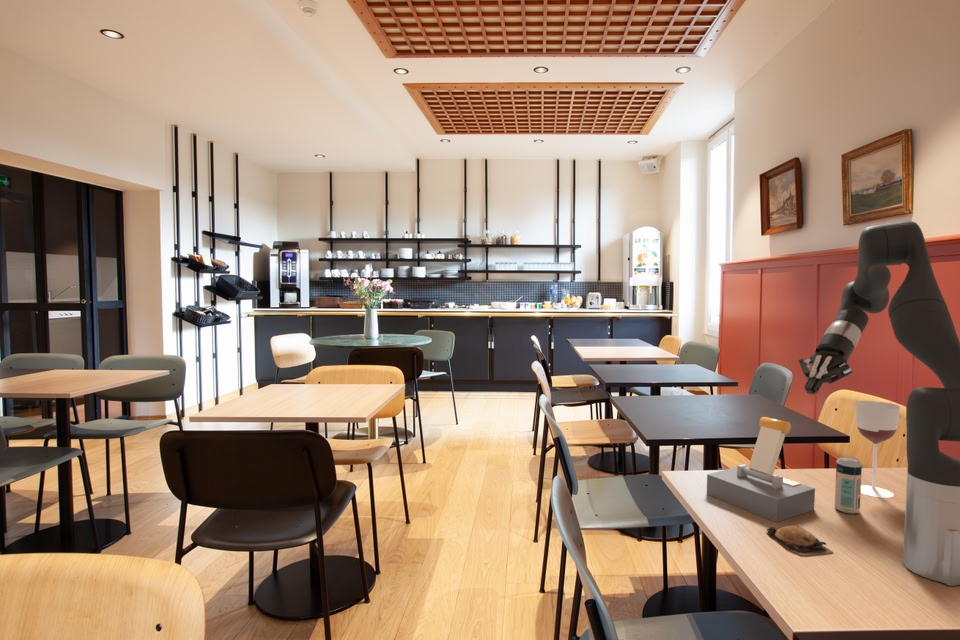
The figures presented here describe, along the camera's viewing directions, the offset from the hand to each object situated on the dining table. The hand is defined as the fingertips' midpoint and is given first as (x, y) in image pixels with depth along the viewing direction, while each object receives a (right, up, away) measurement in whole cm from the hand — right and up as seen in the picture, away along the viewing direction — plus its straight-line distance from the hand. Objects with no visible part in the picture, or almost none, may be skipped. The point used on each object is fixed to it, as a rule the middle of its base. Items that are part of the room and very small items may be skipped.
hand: (809, 392), depth 135 cm
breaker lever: (-17, -19, -8) cm, 26 cm away
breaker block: (-17, -25, -7) cm, 31 cm away
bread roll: (-20, -27, -28) cm, 43 cm away
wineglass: (+16, -25, -1) cm, 30 cm away
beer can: (+1, -26, -12) cm, 29 cm away
